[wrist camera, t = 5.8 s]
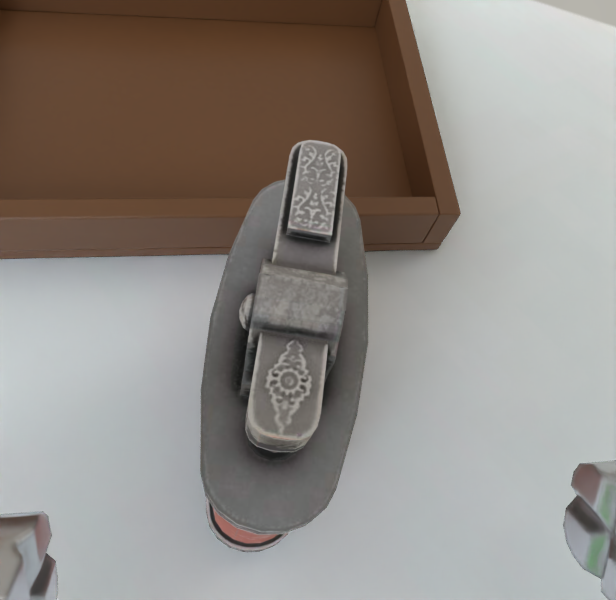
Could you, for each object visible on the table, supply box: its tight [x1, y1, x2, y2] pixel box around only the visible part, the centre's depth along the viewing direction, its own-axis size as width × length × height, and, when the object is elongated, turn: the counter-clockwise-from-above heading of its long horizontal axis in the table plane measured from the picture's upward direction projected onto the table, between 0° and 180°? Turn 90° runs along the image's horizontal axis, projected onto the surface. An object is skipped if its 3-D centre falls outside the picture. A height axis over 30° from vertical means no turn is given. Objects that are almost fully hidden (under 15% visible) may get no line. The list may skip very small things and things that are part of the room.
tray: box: [0, 0, 461, 259], centre depth 23 cm, size 19×13×2 cm
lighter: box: [201, 140, 368, 552], centre depth 15 cm, size 8×3×10 cm, turn 173°
